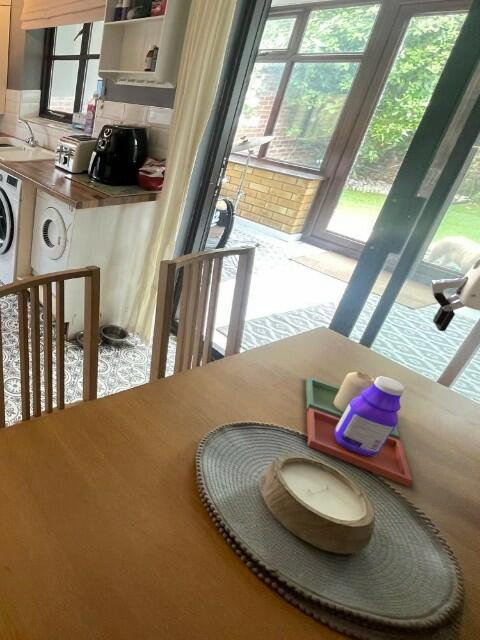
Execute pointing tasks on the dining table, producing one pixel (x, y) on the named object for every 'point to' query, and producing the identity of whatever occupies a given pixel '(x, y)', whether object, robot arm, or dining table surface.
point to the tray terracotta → (383, 463)
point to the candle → (352, 389)
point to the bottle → (370, 417)
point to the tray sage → (327, 399)
